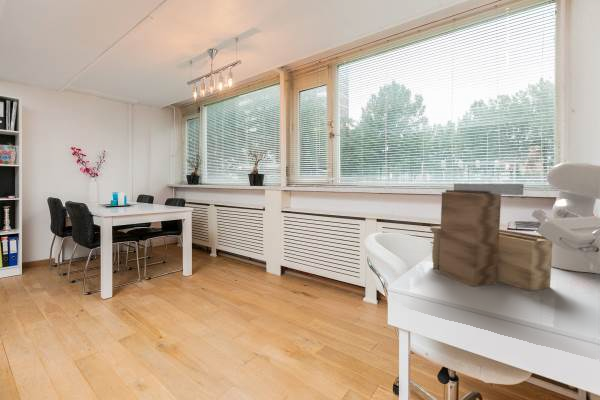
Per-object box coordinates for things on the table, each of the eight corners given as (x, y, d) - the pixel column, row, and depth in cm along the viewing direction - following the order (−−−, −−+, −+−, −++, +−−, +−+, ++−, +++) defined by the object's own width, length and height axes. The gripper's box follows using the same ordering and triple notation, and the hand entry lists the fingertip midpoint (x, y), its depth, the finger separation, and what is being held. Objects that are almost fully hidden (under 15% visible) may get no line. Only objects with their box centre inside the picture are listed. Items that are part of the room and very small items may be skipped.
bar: (460, 192, 98) (460, 183, 98) (523, 194, 79) (523, 184, 79) (453, 192, 97) (453, 183, 97) (515, 195, 78) (516, 183, 78)
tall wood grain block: (460, 270, 102) (464, 189, 100) (496, 282, 90) (501, 190, 88) (439, 273, 99) (442, 189, 97) (473, 286, 87) (477, 191, 85)
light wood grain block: (500, 272, 101) (502, 229, 100) (549, 287, 86) (553, 236, 86) (481, 275, 98) (483, 230, 97) (529, 291, 83) (532, 238, 82)
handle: (449, 268, 105) (450, 227, 104) (438, 270, 102) (439, 228, 101) (437, 264, 109) (438, 225, 108) (426, 267, 106) (427, 227, 105)
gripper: (569, 264, 60) (511, 223, 71) (624, 256, 67) (564, 219, 77) (591, 241, 56) (527, 202, 67) (646, 235, 63) (580, 200, 74)
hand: (547, 211), depth 72 cm, fingers open, 8 cm apart
